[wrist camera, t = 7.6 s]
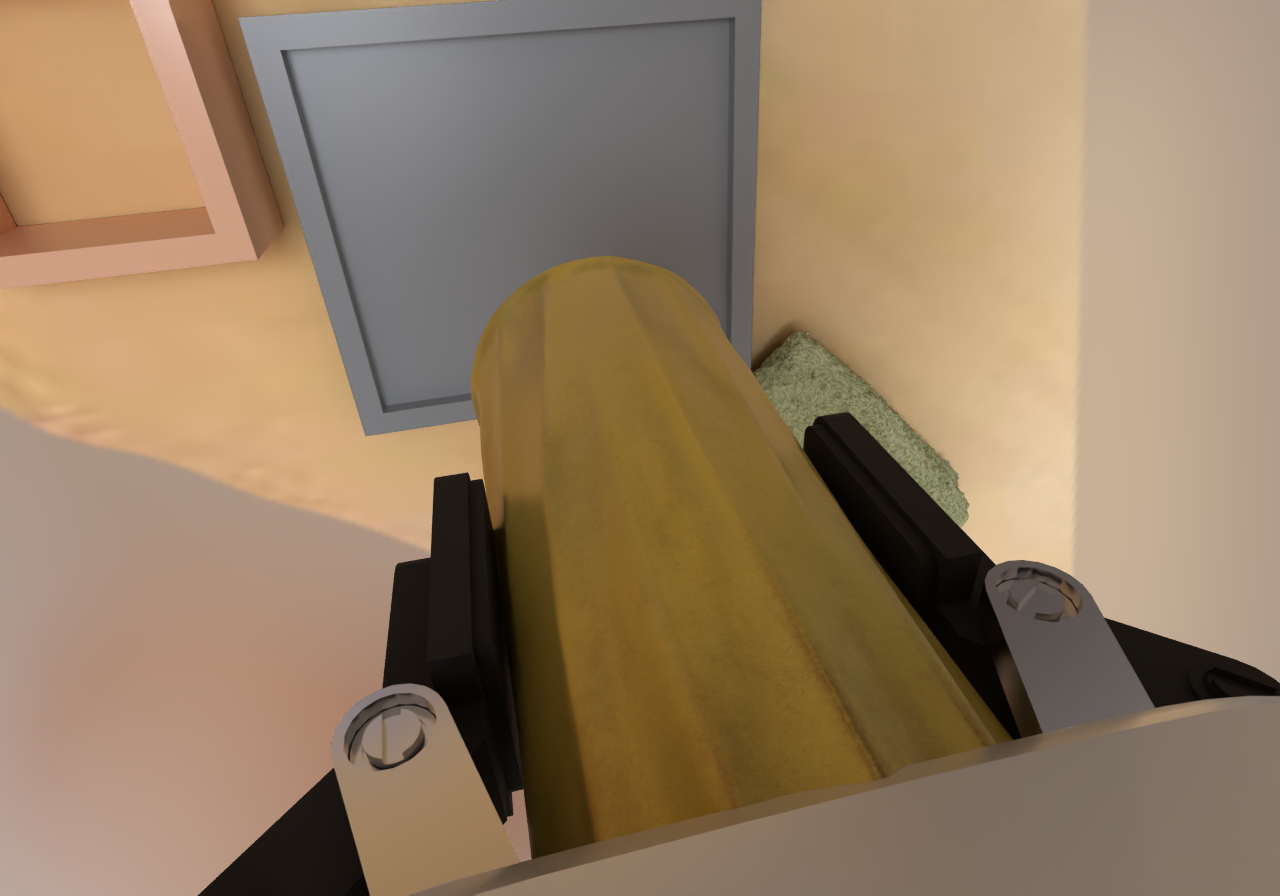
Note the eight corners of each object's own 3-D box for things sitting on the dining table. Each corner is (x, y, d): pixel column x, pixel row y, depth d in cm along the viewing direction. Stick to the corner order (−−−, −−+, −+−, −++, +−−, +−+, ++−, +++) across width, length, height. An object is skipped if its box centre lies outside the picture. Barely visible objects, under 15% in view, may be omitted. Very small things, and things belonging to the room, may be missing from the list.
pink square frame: (183, -90, 23) (130, -109, 19) (283, 226, 28) (257, 259, 24) (-177, -75, 21) (-312, -92, 18) (1, 256, 27) (-73, 297, 23)
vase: (719, 231, 16) (1497, 911, 4) (728, 460, 19) (1169, 1197, 7) (440, 278, 15) (395, 1289, 3) (501, 508, 18) (585, 1418, 7)
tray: (747, -16, 27) (762, -17, 26) (740, 364, 36) (750, 376, 35) (248, 16, 25) (238, 17, 23) (368, 420, 33) (365, 436, 32)
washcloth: (804, 616, 47) (826, 653, 44) (615, 480, 38) (628, 516, 35) (966, 482, 44) (1000, 514, 41) (803, 299, 35) (833, 325, 32)
